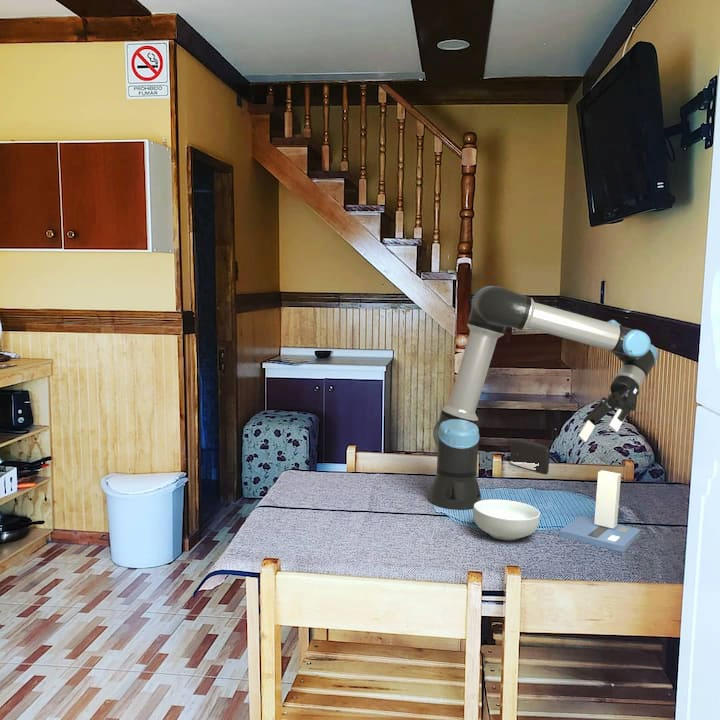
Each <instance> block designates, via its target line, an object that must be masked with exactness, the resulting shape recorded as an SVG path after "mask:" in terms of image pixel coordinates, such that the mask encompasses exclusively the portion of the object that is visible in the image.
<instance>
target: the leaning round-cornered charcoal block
mask: <svg viewBox="0 0 720 720" xmlns="http://www.w3.org/2000/svg"><path fill="white" fill-rule="evenodd" d="M509 448H510V451H509V462H510V461H513V462H527V463H535V464H538V463H539V466H536V467H534V468H536V470H535V471H536V473H540V474H543V475H547V474H548V472H549V469H550V467H549V466H550V448H549V447H548V446H546V445H544V444H542V443H538V442H533V441H529V440H521V439H514V440H512V441H511V442H510V447H509ZM535 471H534V472H535Z"/></svg>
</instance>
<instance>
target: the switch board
mask: <svg viewBox="0 0 720 720" xmlns="http://www.w3.org/2000/svg"><path fill="white" fill-rule="evenodd" d="M594 521H595V517H590V516H589V517H588V516H584V515H580V516H578V517H577V518H575V519H574V520H572V521H571V522H570V523H569V524H567V525H565V526H564V527H562V528H561V529H560V530H558V532H559V533H558V537H561V538H565V539H569V540H572V541H576V542H581V543H585V544H589V545H593V546H597V547H599V548H603V549H607V550H608V549H609V550H613V551H617V552H620V553H624V552H625V551H626V550H627V549H628V548H630V546H631V545H633V543H634V542H636V541H637V539H638V538H639V537H640V536H641V535H642V529H641V528H636V527H632V526H628V525H623V524H619V523H617V526H616V527H615V528H614V529H613V528H608V527H604V526H600V525H596V524H594Z"/></svg>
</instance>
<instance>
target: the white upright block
mask: <svg viewBox="0 0 720 720" xmlns="http://www.w3.org/2000/svg"><path fill="white" fill-rule="evenodd" d="M621 477H622V473H618V472H613V471H608V470H602V469H601V470H599V471H598V472H597V485H596V496H595V497H596V498H595V511H594V519H595V521H594V524H596V525H600V526H604V527H608V528H613V529H614V528H615V527H616V526H617V524H618V518H619V504H620V494H621V493H620V492H621V491H620V490H621V480H622V478H621Z"/></svg>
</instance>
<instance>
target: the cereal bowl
mask: <svg viewBox="0 0 720 720" xmlns="http://www.w3.org/2000/svg"><path fill="white" fill-rule="evenodd" d="M472 509H473V510H472V512H473V513H472V514H473V521H474V522H475V525H477V527H478V528H479V529H480V530H482V531H483V532H485V533H487V534H489V536H490V537H491V538H493V539H497V540H501V541H516V540H519V539H520V538H524V537H525V538H526V537H528V536H531V535H532V534H533V533H534V532H535V531H536V530H537V529H538V527H539V524H540V519H541V513H540V511H539V509H537V508H536V507H535V506H532V505H530V504H528V503H523V502H520V501H515V500H514V501H513V500H508V499H483V500H482V499H481V501H478V502H476V503H475V504H474V507H473V508H472Z"/></svg>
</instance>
